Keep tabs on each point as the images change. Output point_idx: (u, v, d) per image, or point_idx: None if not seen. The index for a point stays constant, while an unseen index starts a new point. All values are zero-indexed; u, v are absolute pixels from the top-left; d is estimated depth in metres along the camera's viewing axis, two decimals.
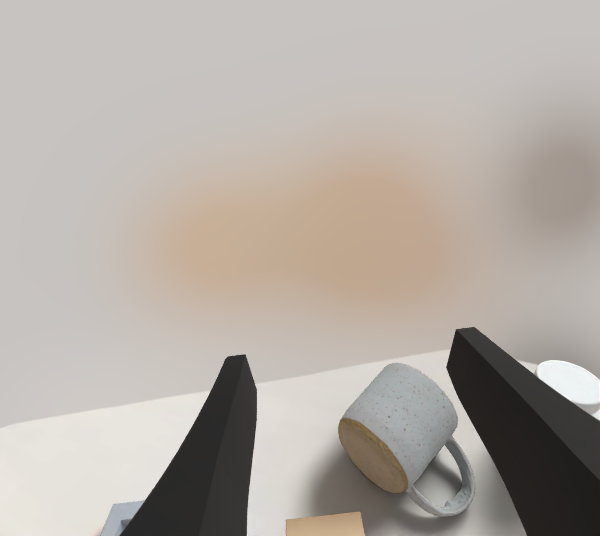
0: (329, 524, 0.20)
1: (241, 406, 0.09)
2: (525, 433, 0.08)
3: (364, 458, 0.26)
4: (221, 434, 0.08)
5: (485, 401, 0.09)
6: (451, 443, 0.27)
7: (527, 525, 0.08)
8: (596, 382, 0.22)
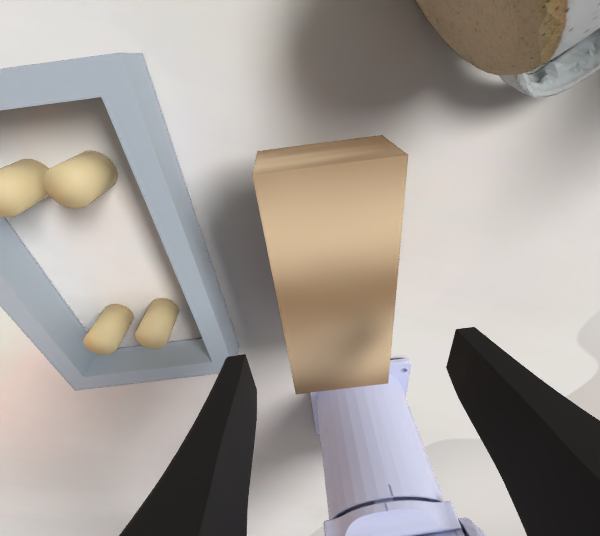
0: (341, 179, 0.10)
1: (241, 406, 0.09)
2: (525, 433, 0.08)
3: None
4: (221, 434, 0.08)
5: (485, 401, 0.09)
6: None
7: (527, 525, 0.08)
8: None
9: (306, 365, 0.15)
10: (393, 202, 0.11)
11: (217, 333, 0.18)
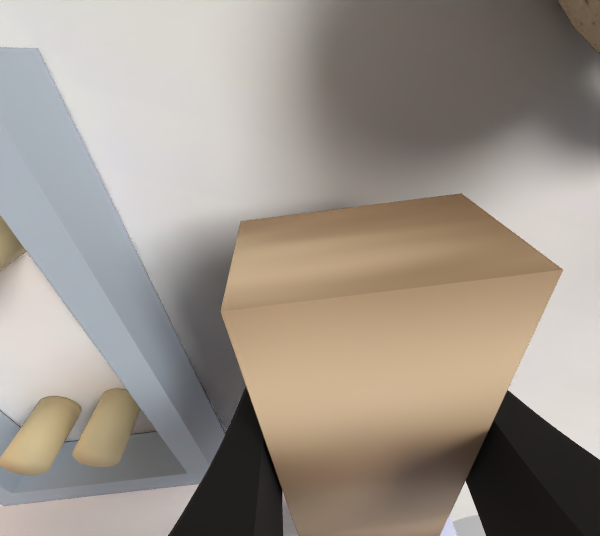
0: (411, 313, 0.05)
1: None
2: None
3: None
4: None
5: None
6: None
7: (487, 529, 0.08)
8: None
9: (320, 527, 0.10)
10: (508, 344, 0.05)
11: (192, 445, 0.13)
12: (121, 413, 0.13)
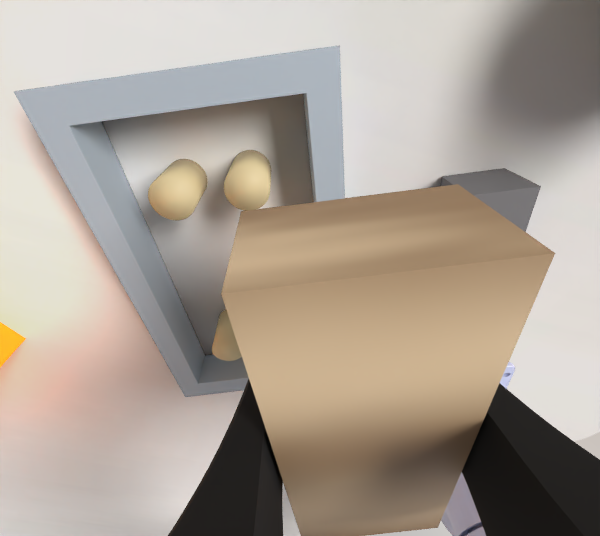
0: (408, 297, 0.05)
1: None
2: (483, 438, 0.08)
3: None
4: (262, 429, 0.08)
5: None
6: None
7: (487, 529, 0.08)
8: None
9: (319, 517, 0.10)
10: (502, 329, 0.05)
11: None
12: None
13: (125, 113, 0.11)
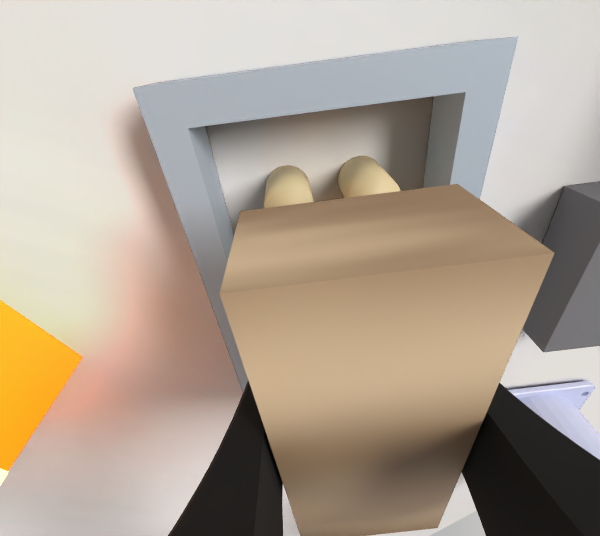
0: (407, 297, 0.05)
1: None
2: (483, 438, 0.08)
3: None
4: (262, 429, 0.08)
5: None
6: None
7: (488, 529, 0.08)
8: None
9: (318, 517, 0.10)
10: (502, 329, 0.05)
11: None
12: None
13: (255, 114, 0.09)
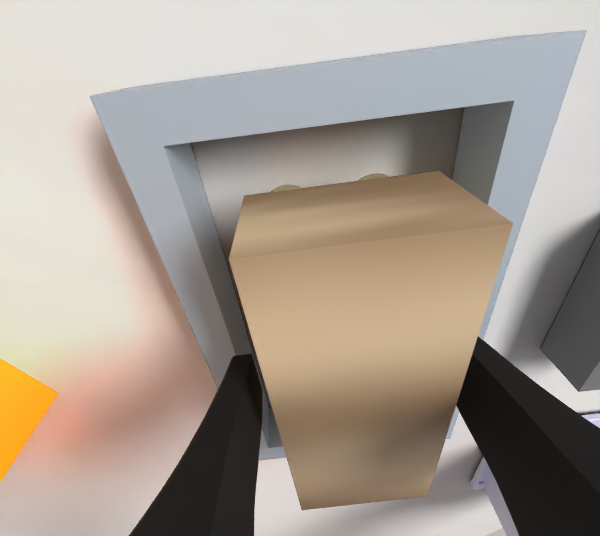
0: (389, 263, 0.06)
1: (248, 405, 0.09)
2: (517, 434, 0.08)
3: None
4: (229, 433, 0.08)
5: (478, 402, 0.09)
6: None
7: (519, 526, 0.08)
8: None
9: (316, 483, 0.11)
10: (474, 294, 0.06)
11: None
12: None
13: (248, 128, 0.07)
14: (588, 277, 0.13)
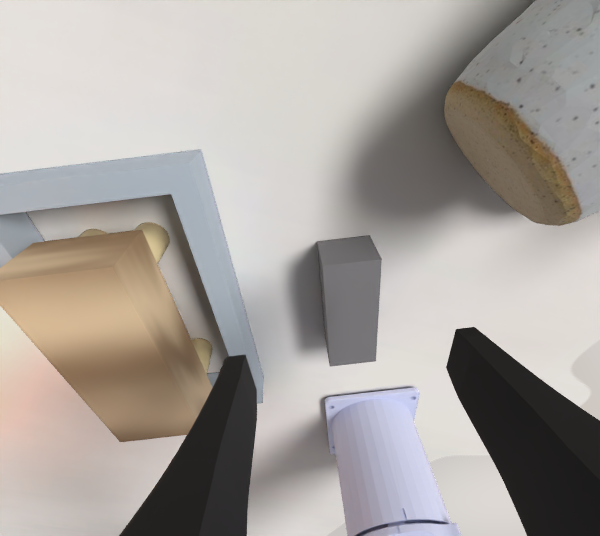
0: (63, 284, 0.12)
1: (241, 406, 0.09)
2: (525, 433, 0.08)
3: (485, 157, 0.12)
4: (221, 434, 0.08)
5: (485, 401, 0.09)
6: None
7: (528, 525, 0.08)
8: None
9: (116, 419, 0.17)
10: (121, 299, 0.12)
11: None
12: (203, 352, 0.21)
13: (26, 208, 0.13)
14: (321, 287, 0.19)
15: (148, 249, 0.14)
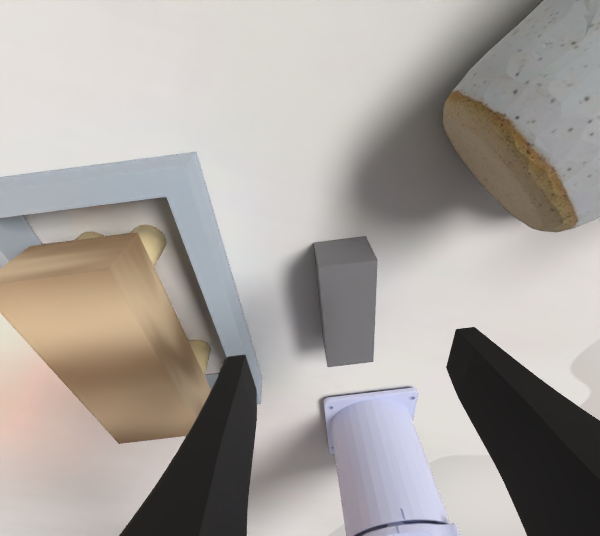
0: (59, 287, 0.12)
1: (241, 406, 0.09)
2: (525, 433, 0.08)
3: (484, 164, 0.12)
4: (221, 434, 0.08)
5: (485, 401, 0.09)
6: None
7: (527, 525, 0.08)
8: None
9: (114, 421, 0.17)
10: (116, 302, 0.12)
11: None
12: (201, 353, 0.21)
13: (22, 212, 0.13)
14: (318, 288, 0.19)
15: (144, 252, 0.14)
